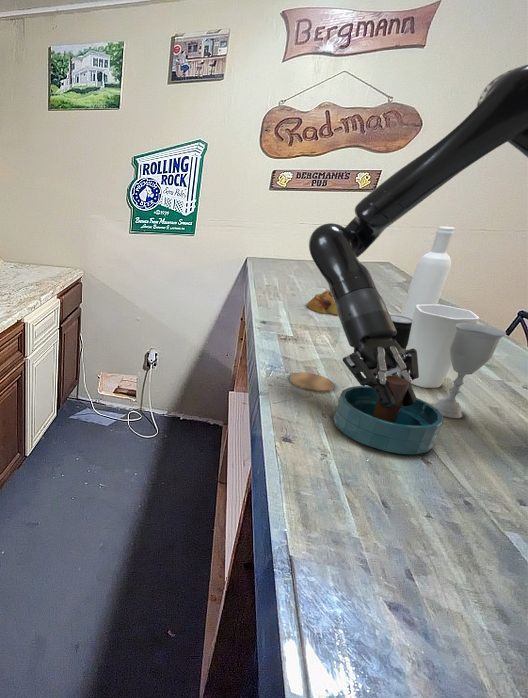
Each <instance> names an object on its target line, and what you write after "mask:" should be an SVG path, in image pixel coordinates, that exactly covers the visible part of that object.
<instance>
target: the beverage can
mask: <svg viewBox="0 0 528 698" xmlns="http://www.w3.org/2000/svg"><path fill="white" fill-rule="evenodd" d="M390 317H391V319H392V321H393V324H394V326H395V328H396V331H397V334H396V336H395V340H396V342H397V343H398V344H399V345H400V346H401V348H403V349H406V350H407V346H408V341H409V336H410V330H411V325H412V319H411V318H408V317H404V316H400V314H398V315H397V314H390ZM396 367H397V366H394V367H392V368H391V369H395V368H396Z"/></svg>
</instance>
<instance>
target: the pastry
mask: <svg viewBox="0 0 528 698" xmlns="http://www.w3.org/2000/svg"><path fill="white" fill-rule="evenodd" d="M306 307H307V309H309V310H311V311H313V312H316V313H319V314H320V315H321V314H322V315H323V314H324V315H331V316H337V317H339V316H338V313H337V308H336V305H335V302H334V299H333V296H332V294H331V291H330V289H329V290H325V291H323V292H322V293H318V294H315V295H314V297H313V298H311V299H310V300H309V301H308V302H307V303H306Z"/></svg>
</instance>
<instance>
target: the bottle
mask: <svg viewBox="0 0 528 698" xmlns="http://www.w3.org/2000/svg"><path fill="white" fill-rule="evenodd" d="M455 231H456V228H455V227H454V226H447V225H446V226H444V225H443V226H441V225H440V226H438V228H437V230H436V232H435V233H436V234H435V236H434V241H433V243H432V246H431V249H430V251H428V252H427V253H425V254H423V255H422V256H421V257H420V258H419V259H418V261H417V262H416V266H415V269H414V272H413V275H412V278H411V281H410V284H409V287H408V290H407V294H406V296H405V299H404V301H403V305H402V307H401V311H400V314H399V316H404V317H408V318H411V319H412V320H413V315H414V310H415V306H416V305H430V304H439V301H440V298H441V296H442V293H443V290H444V288H445V285H446V281H447V279H448V276H449V274H450V271H451V268H452V258H451V257H450V255H449V254H448V253H447V252H448V249H449V247H450V244H451V241H452V238H453V235H454V234H455Z"/></svg>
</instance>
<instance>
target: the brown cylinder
mask: <svg viewBox="0 0 528 698" xmlns="http://www.w3.org/2000/svg"><path fill="white" fill-rule="evenodd" d="M385 377H386V384H385V385H388V386H389V388H390V391H391V393H392V396H393V398H394V401H395V406H392V407H389V408H383V407H382V406H381V405H380V404H379V402H378V399H377V402H376V405H375V408H374V411H373V414H372V416H373V417H375V418H378V419H381V420H385V421H388V422H392V423H396V420H397V417H398V414H399V412H400V409H401V406H402V403H403V400H404V397H405V395H406V392H407V389H408V386H409V381H408V380H406V379H404V378H401V376H399V377H397V376H387V375H385Z"/></svg>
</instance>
